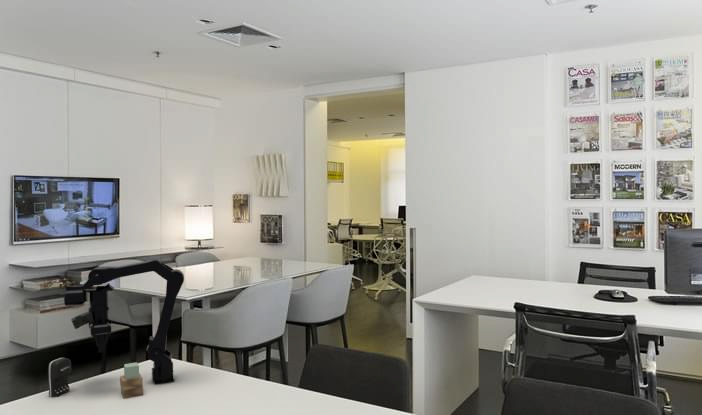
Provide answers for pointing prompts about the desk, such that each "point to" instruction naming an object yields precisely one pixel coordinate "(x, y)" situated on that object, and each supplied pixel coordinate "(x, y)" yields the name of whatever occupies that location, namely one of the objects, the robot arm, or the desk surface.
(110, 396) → the desk surface
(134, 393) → the block
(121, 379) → the brown square block
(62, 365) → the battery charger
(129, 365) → the sage block
